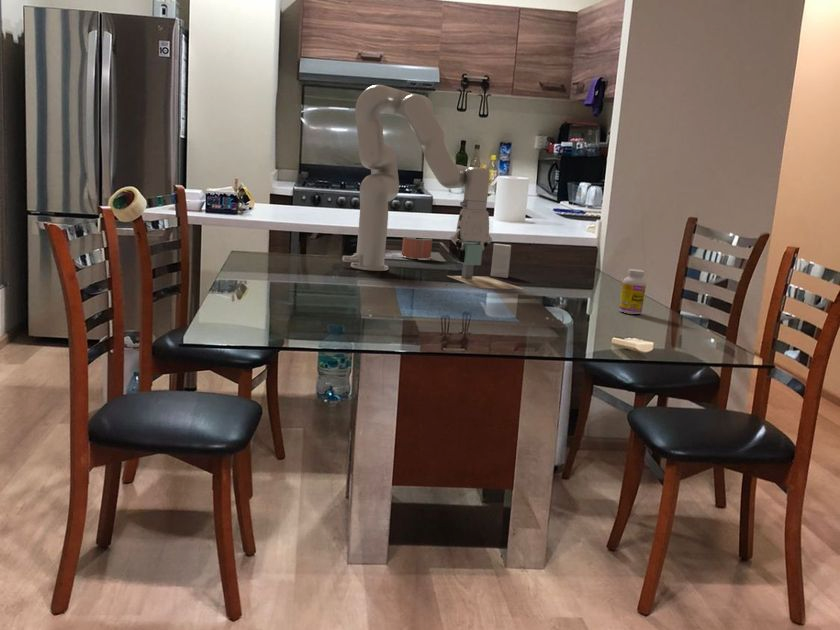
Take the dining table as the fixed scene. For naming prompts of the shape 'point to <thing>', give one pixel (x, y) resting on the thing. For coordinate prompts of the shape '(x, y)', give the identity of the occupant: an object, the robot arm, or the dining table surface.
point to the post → (467, 271)
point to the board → (486, 282)
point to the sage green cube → (472, 254)
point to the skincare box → (500, 260)
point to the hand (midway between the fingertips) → (469, 261)
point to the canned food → (416, 247)
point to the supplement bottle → (633, 292)
